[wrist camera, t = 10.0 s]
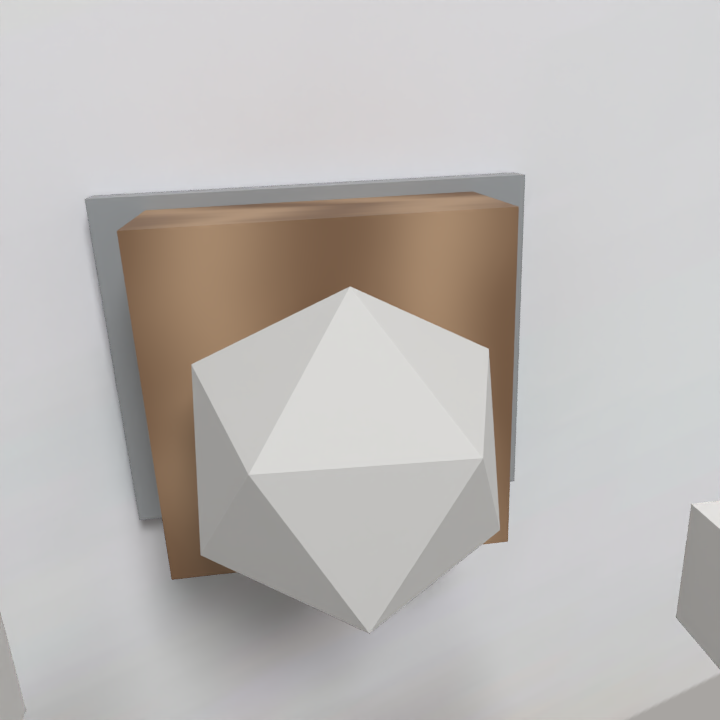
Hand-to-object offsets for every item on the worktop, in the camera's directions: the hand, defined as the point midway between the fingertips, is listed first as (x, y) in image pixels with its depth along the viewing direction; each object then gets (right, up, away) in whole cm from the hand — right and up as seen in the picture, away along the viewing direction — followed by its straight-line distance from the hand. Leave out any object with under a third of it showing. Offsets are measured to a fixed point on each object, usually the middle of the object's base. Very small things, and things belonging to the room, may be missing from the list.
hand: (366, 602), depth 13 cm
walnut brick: (-2, +5, +14) cm, 15 cm away
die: (-1, +4, +10) cm, 10 cm away
